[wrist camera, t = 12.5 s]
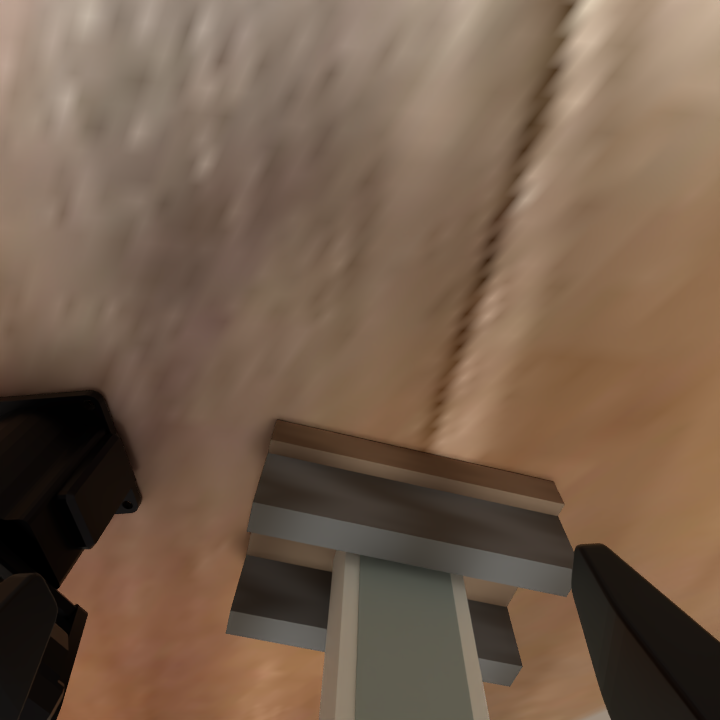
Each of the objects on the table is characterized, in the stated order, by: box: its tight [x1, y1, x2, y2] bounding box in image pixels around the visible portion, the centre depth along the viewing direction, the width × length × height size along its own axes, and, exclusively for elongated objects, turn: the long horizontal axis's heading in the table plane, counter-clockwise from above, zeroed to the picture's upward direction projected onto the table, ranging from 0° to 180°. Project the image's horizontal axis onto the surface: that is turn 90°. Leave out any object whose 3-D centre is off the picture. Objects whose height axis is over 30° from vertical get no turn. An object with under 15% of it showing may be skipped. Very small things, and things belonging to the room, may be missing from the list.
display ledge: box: [226, 420, 574, 687], centre depth 23 cm, size 13×9×4 cm
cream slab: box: [319, 550, 490, 720], centre depth 19 cm, size 5×3×12 cm, turn 76°
